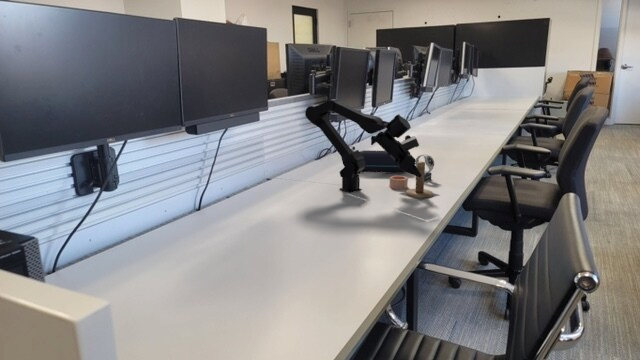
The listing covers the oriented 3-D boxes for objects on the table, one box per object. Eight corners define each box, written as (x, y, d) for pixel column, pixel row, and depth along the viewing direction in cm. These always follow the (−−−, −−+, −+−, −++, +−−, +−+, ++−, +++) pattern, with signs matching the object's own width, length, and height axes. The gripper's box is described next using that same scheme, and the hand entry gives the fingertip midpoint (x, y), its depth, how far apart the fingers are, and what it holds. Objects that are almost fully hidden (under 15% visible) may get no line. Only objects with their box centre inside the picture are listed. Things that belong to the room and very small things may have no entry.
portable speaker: (408, 170, 211) (409, 149, 209) (410, 175, 202) (411, 153, 199) (355, 169, 214) (355, 148, 211) (354, 174, 204) (355, 152, 202)
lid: (421, 199, 165) (422, 166, 162) (400, 193, 173) (401, 162, 170) (438, 194, 171) (440, 162, 168) (417, 189, 179) (419, 158, 176)
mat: (421, 201, 165) (421, 200, 165) (398, 194, 173) (398, 193, 173) (440, 195, 171) (440, 194, 171) (417, 189, 180) (417, 188, 180)
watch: (428, 182, 189) (430, 157, 186) (412, 179, 194) (413, 154, 192) (435, 180, 193) (436, 155, 190) (419, 177, 198) (420, 152, 195)
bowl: (398, 190, 178) (399, 181, 177) (386, 187, 183) (386, 177, 182) (410, 187, 182) (411, 178, 181) (397, 184, 188) (398, 174, 187)
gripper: (410, 133, 157) (440, 164, 159) (402, 125, 175) (429, 153, 177) (386, 155, 159) (416, 185, 161) (381, 145, 177) (408, 173, 179)
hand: (418, 173), depth 170 cm, fingers open, 9 cm apart
